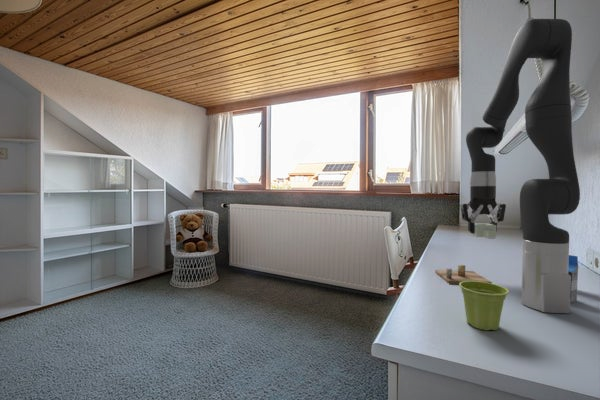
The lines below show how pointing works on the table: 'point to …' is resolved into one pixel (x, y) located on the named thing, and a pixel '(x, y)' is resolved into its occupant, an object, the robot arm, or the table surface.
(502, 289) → the plant pot
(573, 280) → the label tape box
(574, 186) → the robot arm
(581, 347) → the table surface
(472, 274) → the locating plate
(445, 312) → the table surface
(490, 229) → the square ring with handle
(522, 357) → the table surface
